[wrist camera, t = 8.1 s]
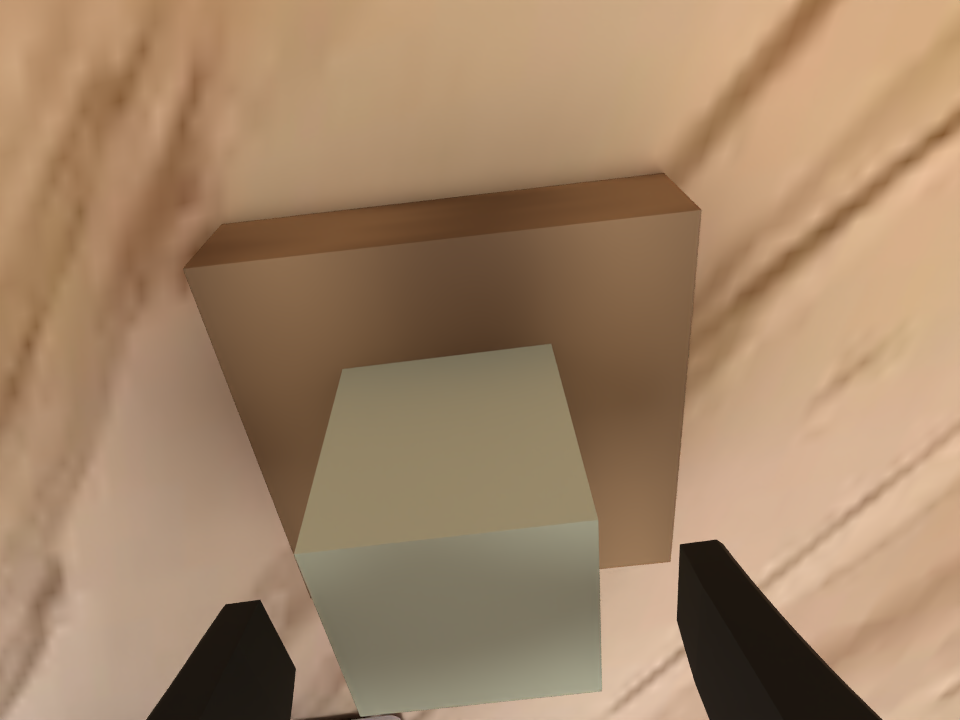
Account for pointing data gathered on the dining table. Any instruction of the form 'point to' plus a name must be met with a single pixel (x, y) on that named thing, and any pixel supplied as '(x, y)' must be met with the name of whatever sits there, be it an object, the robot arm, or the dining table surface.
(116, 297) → the dining table surface
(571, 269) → the walnut block
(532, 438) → the sage cube
